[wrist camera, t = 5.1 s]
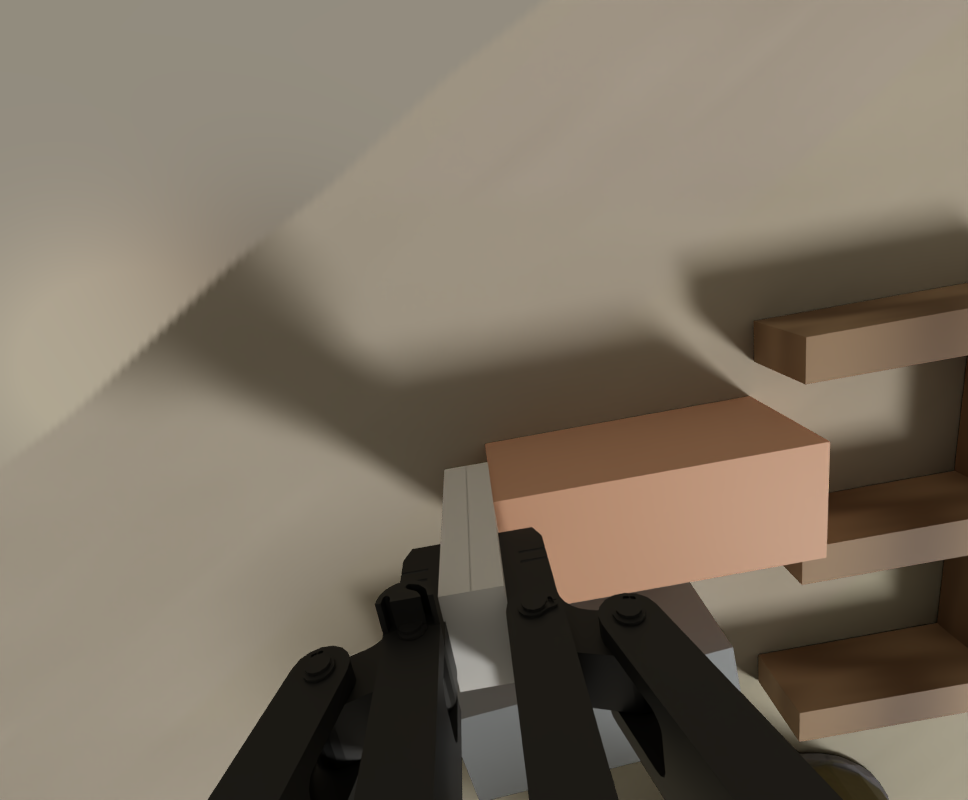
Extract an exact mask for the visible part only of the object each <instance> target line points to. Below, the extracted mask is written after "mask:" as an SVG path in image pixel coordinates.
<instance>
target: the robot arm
mask: <svg viewBox="0 0 968 800" xmlns="http://www.w3.org/2000/svg"><path fill="white" fill-rule="evenodd" d="M375 607H376V610H377V614H378V617H379V621H380V624H381V628H382V631H383V638H382V640H381V641H380V642H379V643H377V644H376V645H374V646H373V647H371V648H369V649H367V650H365V651H362V652H360V653H358V654H355V655H353V656H351V657H349V654H348V652H347V651H346V650H344V649H343V648H342V647H336V646H328V647H322V648H319V649H317V650H315V651H312V652H310V653H309V654H307V655H306V656H304V657H303V658H302V659H300V660H299V661H298V663H297V664H296V665H295V666H294V667H293V668H292V670H291V671H290V673H289V674H288V676H287V678H286V679H285V681H284V682H283V684H282V685H281V687H280V688H279V690H278V691H277V693H276V695H275V696H274V698H273V699H272V701H271V702H270V704H269V705H268V707H267V709H266V710H265V712H264V713H263V715H262V716H261V718H260V719H259V721H258V722H257V724H256V726H255V727H254V729H253V730H252V732H251V733H250V735H249V736H248V738H247V740H246V741H245V743H244V744H243V746H242V747H241V749H240V750H239V752H238V754H237V755H236V757H235V758H234V760H233V761H232V763H231V764H230V766H229V767H228V769H227V771H226V772H225V774H224V775H223V777H222V778H221V780H220V781H219V783H218V785H217V786H216V788H215V789H214V791H213V792H212V794H211V795H210V797H209V799H208V800H462V736H461V709H460V705H459V700H458V696H457V680H458V684H459V689H460V692H464V691H470V690H475V689H481V688H487V687H493V686H498V685H504V684H510V683H515V690H516V698H517V706H518V714H519V722H520V730H521V738H522V746H523V754H524V762H525V770H526V778H527V786H528V794H529V800H618V796H617V793H616V789H615V786H614V782H613V779H612V775H611V771H610V768H609V764H608V761H607V757H606V754H605V750H604V747H603V743H602V739H601V736H600V732H599V729H598V725H597V722H596V718H595V715H594V711H593V708H596V709H604V710H611V713H612V715H613V718H614V719H615V721H616V723H617V724H618V726H619V727H620V729H621V731H622V732H623V734H624V735H625V737H626V739H627V740H628V742H629V743H630V745H631V747H632V748H633V750H634V751H635V753H636V755H637V756H638V758H639V759H640V761H641V763H642V764H643V766H644V767H645V769H646V771H647V772H648V774H649V775H650V777H651V779H652V780H653V782H654V783H655V785H656V787H657V788H658V790H659V791H660V793H661V795H662V796H663V798H664V799H665V800H843V799H842V798H841V797H840V796H839V795H838V794H837V793H836V792H835V791H834V790H833V789H832V788H831V786H830V785H829V784H828V783H827V782H826V781H825V780H824V779H823V778H822V777H821V776H820V775H819V774H818V773H817V772H816V771H815V770H814V769H813V768H812V767H811V765H810V764H809V763H808V762H807V761H806V760H805V759H804V758H803V757H802V756H801V755H800V754H799V753H798V752H797V751H796V750H795V749H794V748H793V747H792V746H791V744H790V743H789V742H788V741H787V740H786V739H785V738H784V737H783V736H782V735H781V734H780V733H779V732H778V731H777V730H776V729H775V728H774V727H773V726H772V725H771V723H770V722H769V721H768V720H767V719H766V718H765V717H764V716H763V715H762V714H761V713H760V712H759V711H758V710H757V709H756V708H755V707H754V706H753V705H752V703H751V702H750V701H749V700H748V699H747V698H746V697H745V696H744V695H743V694H742V693H741V692H740V691H739V690H738V689H737V688H736V687H735V686H734V685H733V684H732V682H731V681H730V680H729V679H728V678H727V677H726V676H725V675H724V674H723V673H722V672H721V671H720V670H719V669H718V668H717V667H716V666H715V665H714V664H713V663H712V661H711V660H710V659H709V658H708V657H707V656H706V655H705V654H704V653H703V652H702V651H701V650H700V649H699V648H698V647H697V646H696V645H695V644H694V643H693V642H692V640H691V639H690V638H689V637H688V636H687V635H686V634H685V633H684V632H683V631H682V630H681V629H680V628H679V627H678V626H677V625H676V624H675V623H674V622H673V621H672V619H671V618H670V617H669V616H668V615H667V614H666V613H665V612H664V611H663V610H662V609H661V608H660V607H659V606H658V605H657V604H656V603H655V602H654V601H652V600H651V599H649V598H648V597H646V596H643V595H640V594H637V593H621V594H616V595H613V596H611V597H609V598H607V599H606V600H604V602H603V603H602V604H601V605H600V607H599V610H588V609H581V608H577V607H574V606H571V605H570V604H568V603H566V602H565V601H564V600H563V599H562V598H561V597H560V596H559V594H558V592H557V588H556V585H555V581H554V577H553V574H552V570H551V567H550V563H549V559H548V556H547V552H546V549H545V545H544V541H543V538H542V535H541V534H540V533H538V532H537V531H536V530H535V529H534V528H533V527H529V528H523V529H517V530H512V531H506V532H500V533H499V531H498V525H497V520H496V515H495V509H494V504H493V497H492V489H491V482H490V475H489V467H488V462H485V463H479V464H473V465H468V466H462V467H456V468H451V469H445V470H444V487H443V506H442V526H441V544H439V545H434V546H428V547H422V548H417V549H412V550H411V552H410V553H409V555H408V556H407V557H406V559H405V560H404V562H403V568H402V576H401V581H400V583H398V584H395V585H393V586H392V587H390V588H388V589H386V590H385V591H384V592H383V593H382V594H381V595H380V596H379V597H378V599H377V601H376V603H375Z"/></svg>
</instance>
